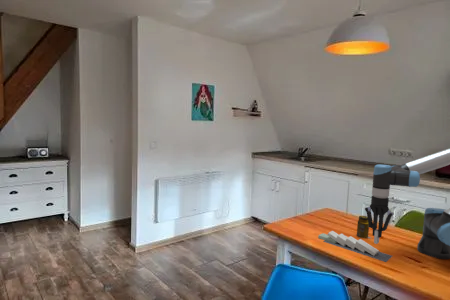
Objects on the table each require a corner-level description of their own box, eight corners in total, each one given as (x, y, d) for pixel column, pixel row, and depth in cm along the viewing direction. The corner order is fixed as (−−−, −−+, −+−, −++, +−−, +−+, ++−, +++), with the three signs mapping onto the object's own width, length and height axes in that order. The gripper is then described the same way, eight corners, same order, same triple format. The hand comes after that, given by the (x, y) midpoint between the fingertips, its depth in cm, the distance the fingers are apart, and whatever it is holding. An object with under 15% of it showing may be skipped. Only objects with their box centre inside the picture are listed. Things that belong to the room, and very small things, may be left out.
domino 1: (339, 238, 168) (322, 233, 175) (335, 240, 165) (318, 235, 172) (339, 241, 168) (322, 235, 175) (335, 243, 165) (318, 238, 172)
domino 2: (349, 241, 164) (332, 230, 171) (345, 243, 161) (328, 232, 167) (347, 243, 165) (331, 233, 171) (343, 246, 161) (327, 235, 168)
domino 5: (378, 250, 154) (360, 238, 160) (375, 253, 150) (356, 241, 157) (377, 253, 154) (359, 241, 161) (373, 256, 151) (355, 243, 157)
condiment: (371, 238, 175) (373, 217, 174) (362, 240, 171) (364, 220, 170) (359, 233, 182) (361, 214, 180) (350, 236, 177) (352, 216, 176)
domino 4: (368, 247, 157) (350, 236, 164) (364, 250, 154) (346, 238, 160) (367, 249, 158) (349, 238, 164) (363, 252, 154) (345, 240, 161)
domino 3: (358, 244, 161) (341, 233, 167) (354, 246, 157) (337, 235, 164) (357, 246, 161) (340, 235, 168) (353, 249, 158) (336, 238, 164)
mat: (392, 256, 151) (392, 255, 151) (385, 262, 144) (385, 262, 144) (331, 237, 174) (331, 236, 174) (322, 242, 167) (322, 241, 167)
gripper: (397, 197, 148) (393, 244, 150) (369, 192, 157) (365, 237, 159) (392, 200, 142) (387, 249, 145) (363, 194, 152) (359, 240, 154)
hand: (376, 242), depth 152 cm, fingers closed
